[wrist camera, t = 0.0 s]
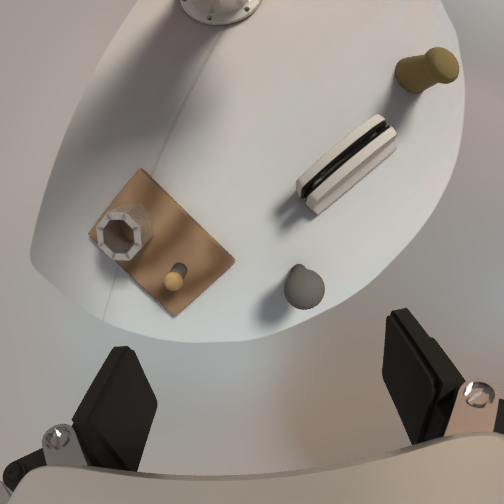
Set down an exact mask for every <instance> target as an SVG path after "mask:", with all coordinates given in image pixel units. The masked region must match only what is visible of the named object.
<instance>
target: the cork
mask: <svg viewBox="0 0 504 504" xmlns="http://www.w3.org/2000/svg"><path fill="white" fill-rule="evenodd" d="M395 73H396V78H397V80H398V82H399V84H400V85H401V86H402V87H403V88H404V89H405V90H407V91H409V92H412V93H419V92H422V91H424V90H425V89H427V88H429V87H431V86H433V85H435V84H437V83H438V82H439V83H443V84H448V83H451V82H453V81H454V80H455V79H456V78H457V77H458V74H459V64H458V61H457V59H456V58H455V56H454V55H453V54H452V53H451V52H450V51H448V50H447V49H444V48H440V47H435V48H432V49H430V50H429V51H428V52H427V53H426V54H425V55H419V56H413V57H408V58H404V59H401V60H400V61H399V62H398V63H397V65H396V70H395Z"/></svg>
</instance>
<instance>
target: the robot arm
mask: <svg viewBox="0 0 504 504" xmlns="http://www.w3.org/2000/svg"><path fill="white" fill-rule="evenodd" d="M261 1H262V0H187V1H186V0H180V2H181V5H182V7H183V9H184V10H185V12H186V13H187V14H188V15H189V16H190V17H192V18H193V19H195V20H197V21H199V22H201V23H205V24H210V25H226V24H232V23H235V22H238V21H240V20H242V19H244V18H246V17H248V16H249V15H251V14H252V13H253V12H254V11H255V10H256V9H257V8H258V7H259V5H260V4H261ZM246 10H248V12H246ZM209 19H212V20H209ZM382 376H383V380H384V382H385V384H386V387H387V389H388V391H389V393H390V395H391V398H392V400H393V402H394V404H395V406H396V409H397V411H398V413H399V415H400V418H401V420H402V422H403V425H404V427H405V430H406V432H407V434H408V437H409V439H410V441H411V444H412V445H411V446H408V447H405V448H401V449H397V450H394V451H390V452H387V453H382V454H378V455H374V456H370V457H366V458H361V459H357V460H352V461H348V462H343V463H338V464H332V465H327V466H321V467H314V468H308V469H301V470H293V471H284V472H274V473H264V474H248V475H223V476H195V475H193V476H192V475H169V474H155V473H154V474H153V473H143V472H137V470H138V467H139V463H140V460H141V457H142V454H143V450H144V447H145V444H146V441H147V438H148V434H149V431H150V428H151V424H152V422H153V419H154V416H155V412H156V409H157V400H156V397H155V395H154V393H153V391H152V389H151V386H150V384H149V382H148V380H147V378H146V376H145V374H144V371H143V369H142V367H141V365H140V362H139V360H138V358H137V356H136V353H135V352H134V350H131V349H130V348H129V347H128V346H122V347H121V346H120V347H114V348H113V349H112V350H111V352H110V354H109V355H108V357H107V359H106V361H105V362H104V364H103V365H102V367H101V369H100V370H99V372H98V374H97V376H96V377H95V379H94V381H93V382H92V384H91V386H90V388H89V389H88V391H87V393H86V395H85V396H84V398H83V400H82V402H81V403H80V405H79V407H78V409H77V411H76V412H75V414H74V416H73V418H72V421H73V422H74V423H73V425H72V427H71V426H70V425H67V424H58V425H55V426H53V427H51V428H50V429H49V430H47V431H46V433H45V434H44V436H43V439H42V447H43V448H41V449H39V450H37V451H35V452H33V453H31V454H29V455H27V456H24V457H22V458H20V459H18V460H16V461H14V462H12V463H10V464H9V465H8V466H7V467H6V469H5V471H4V473H3V482H1V481H0V504H504V400H503V399H499V392H498V390H497V387H496V386H495V385H494V384H493V383H491V382H490V381H487V380H484V379H471V380H469V381H467V382H466V381H465V380H464V378H463V377H462V375H461V374H460V373H459V371H458V370H457V368H456V367H455V366H454V364H453V363H452V362H451V360H450V359H449V357H448V356H447V355H446V354H445V352H444V351H443V349H442V348H441V347H440V345H439V344H438V343H437V342H436V340H435V339H434V338H431V337H429V336H428V334H427V333H426V332H425V330H424V329H423V328H422V326H421V325H420V324H419V323H418V321H417V320H416V319H415V317H414V316H413V315H412V314H411V312H410V311H409V310H408V309H407V308H403V309H399V310H394V311H392V312H391V315H390V316H387V318H386V332H385V347H384V357H383V368H382Z"/></svg>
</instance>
